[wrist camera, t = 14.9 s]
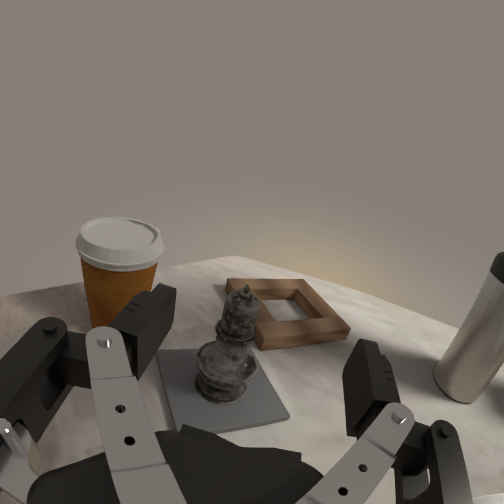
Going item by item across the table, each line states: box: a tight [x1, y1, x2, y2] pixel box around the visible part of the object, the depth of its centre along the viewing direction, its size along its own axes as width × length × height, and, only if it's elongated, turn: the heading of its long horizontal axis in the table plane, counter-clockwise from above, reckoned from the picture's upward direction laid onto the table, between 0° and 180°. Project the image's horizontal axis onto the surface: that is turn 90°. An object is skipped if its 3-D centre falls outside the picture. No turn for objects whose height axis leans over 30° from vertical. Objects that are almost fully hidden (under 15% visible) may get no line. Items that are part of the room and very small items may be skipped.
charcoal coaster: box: [156, 346, 290, 434], centre depth 29 cm, size 11×11×1 cm
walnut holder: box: [225, 278, 351, 351], centre depth 45 cm, size 14×14×2 cm
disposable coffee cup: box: [76, 217, 165, 329], centre depth 32 cm, size 10×10×12 cm
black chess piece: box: [195, 284, 260, 405], centre depth 27 cm, size 6×6×12 cm
